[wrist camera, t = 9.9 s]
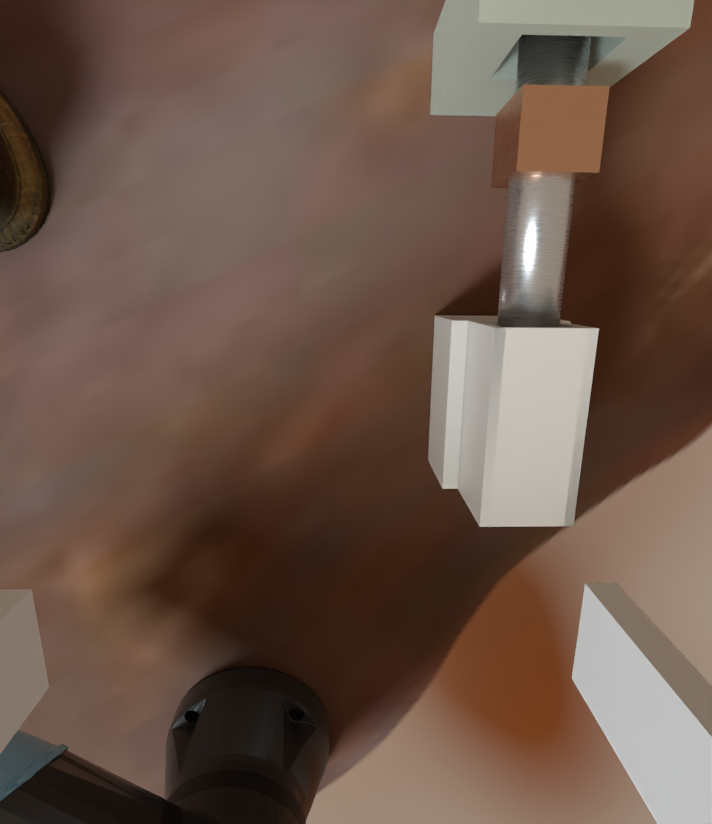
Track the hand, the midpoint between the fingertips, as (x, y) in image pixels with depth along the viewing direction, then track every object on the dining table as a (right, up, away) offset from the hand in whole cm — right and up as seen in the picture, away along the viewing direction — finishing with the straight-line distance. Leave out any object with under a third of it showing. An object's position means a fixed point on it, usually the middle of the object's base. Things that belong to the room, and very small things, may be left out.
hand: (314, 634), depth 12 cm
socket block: (+11, +29, +23) cm, 38 cm away
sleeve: (+11, +7, +28) cm, 31 cm away
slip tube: (+11, +19, +18) cm, 28 cm away
